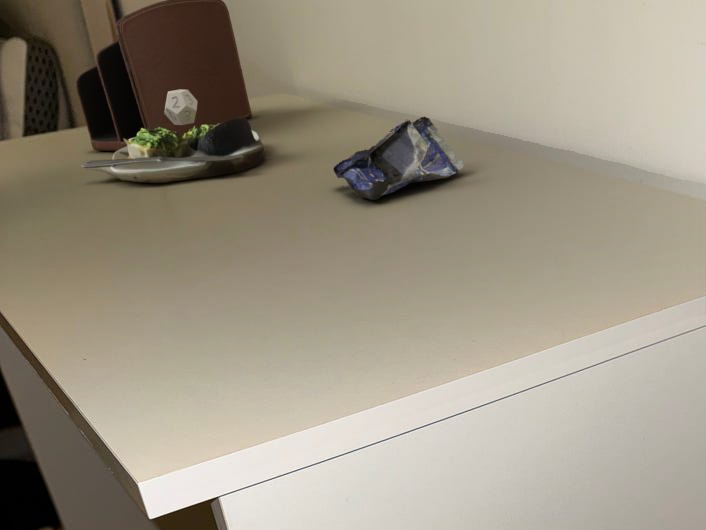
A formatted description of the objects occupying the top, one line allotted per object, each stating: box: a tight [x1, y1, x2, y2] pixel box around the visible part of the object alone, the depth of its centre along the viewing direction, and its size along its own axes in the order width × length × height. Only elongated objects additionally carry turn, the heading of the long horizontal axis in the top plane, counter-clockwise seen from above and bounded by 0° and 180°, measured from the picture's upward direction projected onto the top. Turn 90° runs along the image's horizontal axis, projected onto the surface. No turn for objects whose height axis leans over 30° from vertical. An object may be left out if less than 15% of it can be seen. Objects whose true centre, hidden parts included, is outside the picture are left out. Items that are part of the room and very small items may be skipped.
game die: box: [164, 89, 197, 125], centre depth 99 cm, size 4×4×3 cm
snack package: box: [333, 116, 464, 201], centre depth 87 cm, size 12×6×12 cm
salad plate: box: [81, 118, 265, 184], centre depth 101 cm, size 19×18×5 cm
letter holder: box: [74, 0, 253, 152], centre depth 114 cm, size 10×20×14 cm, turn 155°
